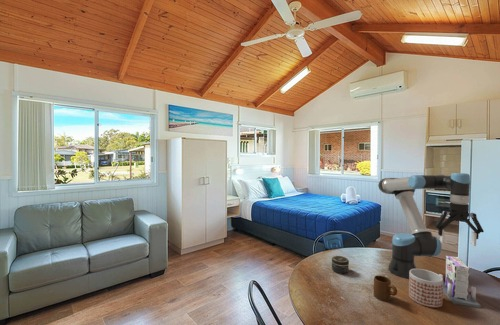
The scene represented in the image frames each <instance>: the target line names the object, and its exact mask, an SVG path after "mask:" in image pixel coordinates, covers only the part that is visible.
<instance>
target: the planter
mask: <svg viewBox="0 0 500 325" xmlns="http://www.w3.org/2000/svg"><path fill="white" fill-rule="evenodd" d="M443 282H444V277H443V278H442V277H441V276H440V275H439V273H436V272H434V271H431V270H429V269H423V268H416V269H411V270H410V271H409V278H408V296H409V298H410V299H411V300H412V301H413V302H415V303H417V304H419V305H422V306H424V307H428V308H431V309H433V308H434V309H437V308H440V307H442V306H443V300H444V299H443V297H444V296H443V295H444V293H443Z"/></svg>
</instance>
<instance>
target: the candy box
mask: <svg viewBox="0 0 500 325" xmlns="http://www.w3.org/2000/svg"><path fill="white" fill-rule="evenodd" d="M469 278H470V267H469V266H467V264H466V263H464V261H463V260H462V259H461V258H460V257H458V256H452V255H445V281H444V282H445V285H446V286H447V288H448V283H450V284H452V295H453V297H455V298H459V299H464V300H468V294H469Z"/></svg>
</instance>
